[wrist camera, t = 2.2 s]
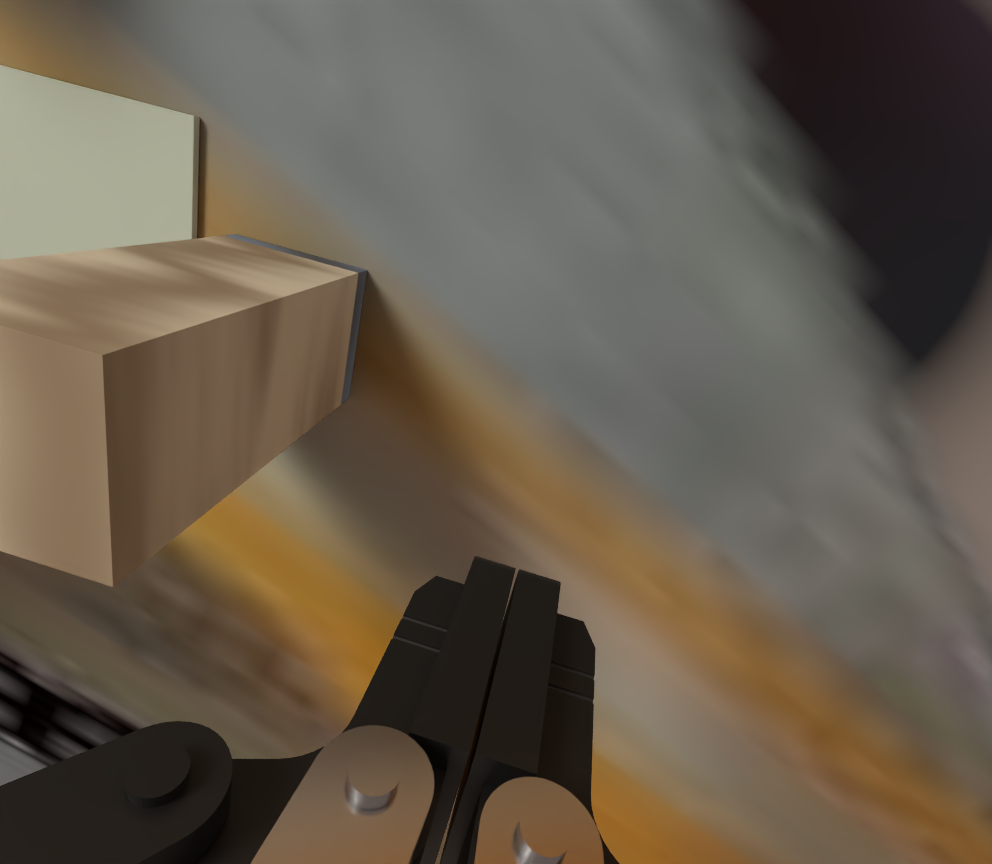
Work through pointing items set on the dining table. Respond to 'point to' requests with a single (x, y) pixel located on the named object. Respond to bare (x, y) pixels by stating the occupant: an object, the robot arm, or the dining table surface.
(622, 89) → the dining table surface
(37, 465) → the birch block
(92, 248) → the board
